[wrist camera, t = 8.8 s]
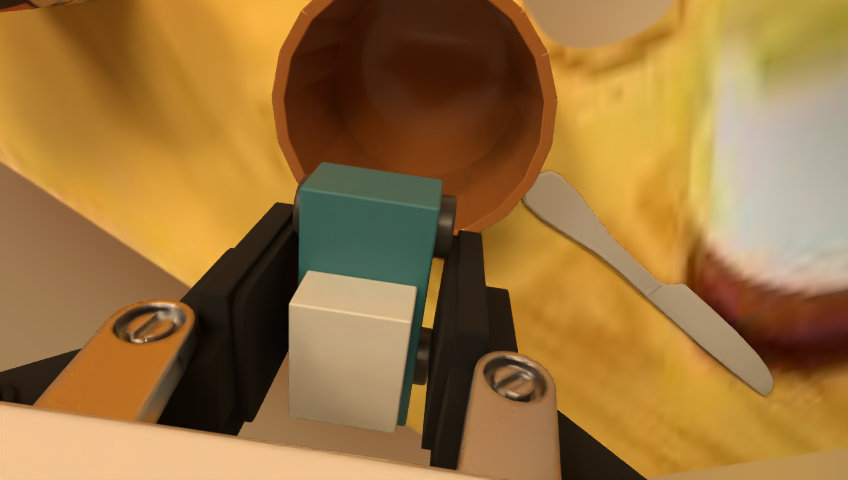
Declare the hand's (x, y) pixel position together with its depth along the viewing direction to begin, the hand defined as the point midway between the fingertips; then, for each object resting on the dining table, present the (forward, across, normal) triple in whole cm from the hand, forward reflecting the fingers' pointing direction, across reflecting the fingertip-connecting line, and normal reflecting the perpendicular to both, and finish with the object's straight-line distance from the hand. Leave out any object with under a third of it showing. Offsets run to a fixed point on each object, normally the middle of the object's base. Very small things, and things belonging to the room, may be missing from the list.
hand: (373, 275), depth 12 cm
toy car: (0, 0, 0) cm, 0 cm away
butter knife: (+18, -17, +9) cm, 26 cm away
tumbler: (+18, 0, -2) cm, 18 cm away
